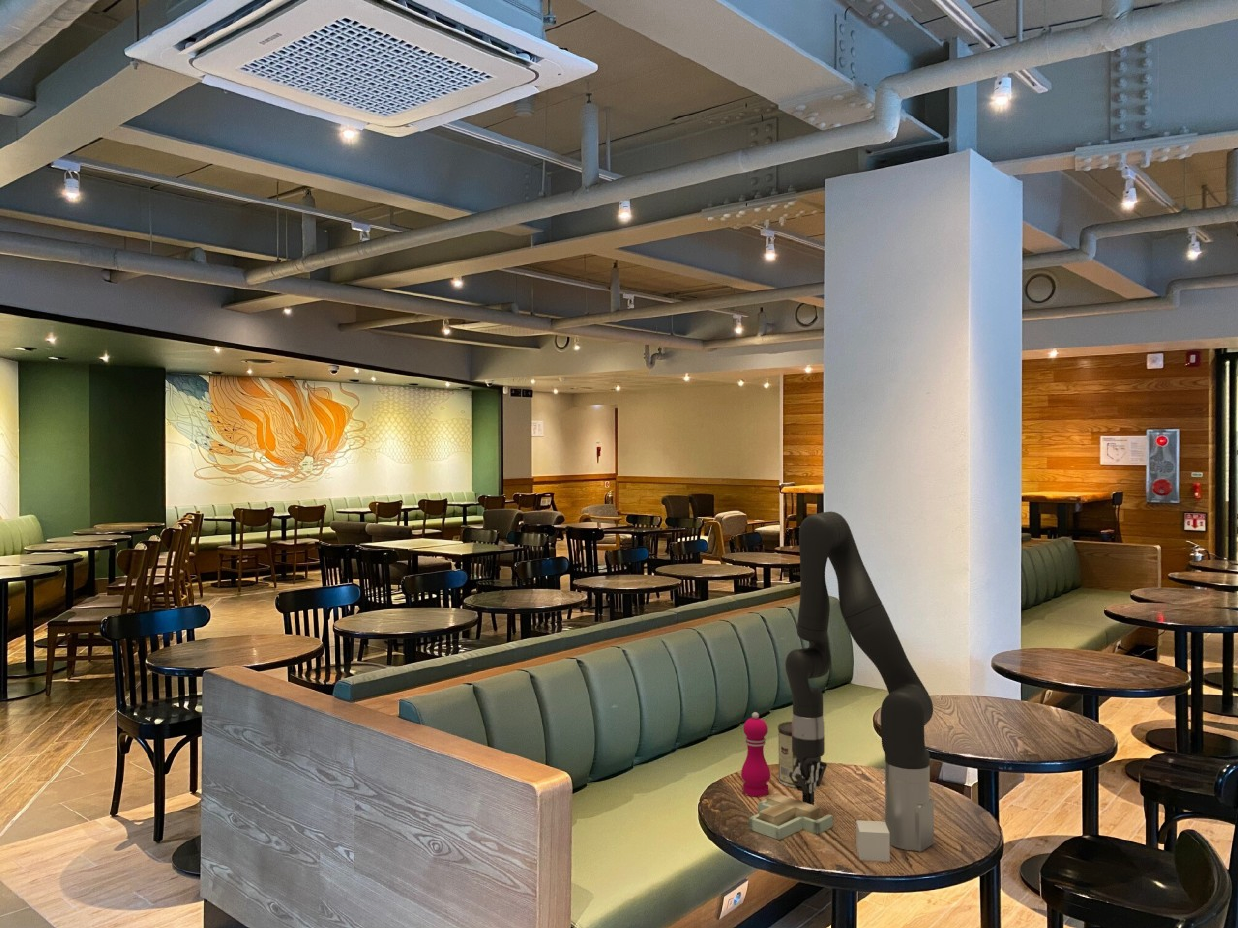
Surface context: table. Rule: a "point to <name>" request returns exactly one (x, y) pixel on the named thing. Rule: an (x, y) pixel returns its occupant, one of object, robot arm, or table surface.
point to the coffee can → (786, 754)
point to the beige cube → (872, 841)
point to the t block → (787, 810)
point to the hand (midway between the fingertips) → (808, 806)
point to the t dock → (788, 824)
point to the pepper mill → (755, 758)
